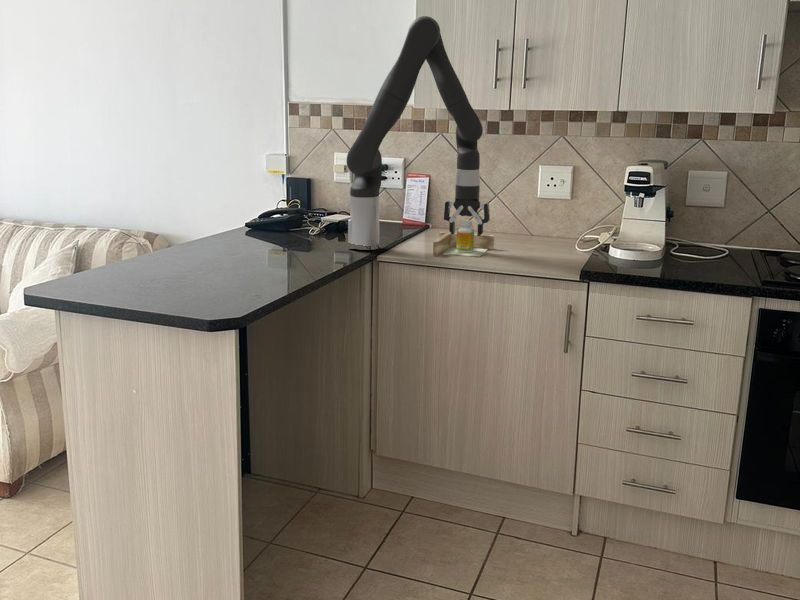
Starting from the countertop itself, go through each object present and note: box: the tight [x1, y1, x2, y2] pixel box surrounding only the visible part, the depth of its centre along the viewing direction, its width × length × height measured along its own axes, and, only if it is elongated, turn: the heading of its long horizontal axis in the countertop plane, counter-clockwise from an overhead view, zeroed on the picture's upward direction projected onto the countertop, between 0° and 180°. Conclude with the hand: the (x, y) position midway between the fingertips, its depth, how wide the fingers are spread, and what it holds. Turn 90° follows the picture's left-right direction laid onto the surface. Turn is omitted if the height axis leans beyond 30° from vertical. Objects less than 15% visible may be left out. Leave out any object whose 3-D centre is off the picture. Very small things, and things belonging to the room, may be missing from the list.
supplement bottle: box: [456, 219, 475, 253], centre depth 252 cm, size 5×5×10 cm
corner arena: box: [432, 231, 495, 258], centre depth 253 cm, size 18×17×4 cm
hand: (466, 234), depth 252 cm, fingers open, 8 cm apart
